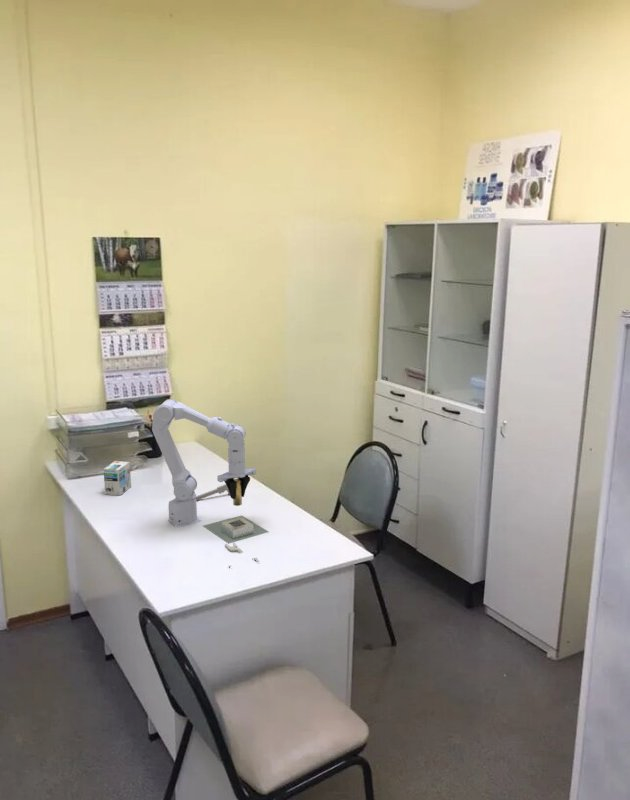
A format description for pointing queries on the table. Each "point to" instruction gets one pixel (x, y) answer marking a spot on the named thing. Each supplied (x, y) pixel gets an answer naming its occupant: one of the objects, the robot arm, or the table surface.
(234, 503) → the pin
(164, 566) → the table surface
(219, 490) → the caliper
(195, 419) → the robot arm
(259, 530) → the mat
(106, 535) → the table surface
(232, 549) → the pliers
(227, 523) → the silver square socket
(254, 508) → the table surface
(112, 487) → the light bulb box
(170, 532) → the table surface
